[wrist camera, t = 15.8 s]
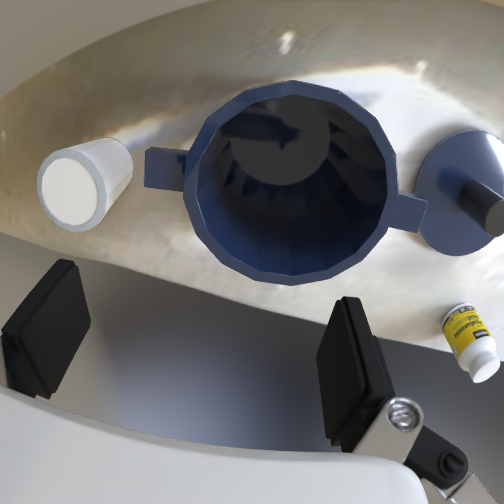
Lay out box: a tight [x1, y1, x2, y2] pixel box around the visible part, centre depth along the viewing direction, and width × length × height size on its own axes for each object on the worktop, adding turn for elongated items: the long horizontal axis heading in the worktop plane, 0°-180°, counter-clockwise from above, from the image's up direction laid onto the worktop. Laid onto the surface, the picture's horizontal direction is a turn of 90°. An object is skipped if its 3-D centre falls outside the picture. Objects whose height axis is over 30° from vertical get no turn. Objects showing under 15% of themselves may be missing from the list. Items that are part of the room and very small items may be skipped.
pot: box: [144, 80, 428, 286], centre depth 22 cm, size 13×18×10 cm
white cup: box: [37, 137, 134, 233], centre depth 24 cm, size 7×7×7 cm
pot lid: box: [414, 129, 504, 256], centre depth 24 cm, size 14×14×6 cm
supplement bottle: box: [442, 303, 500, 383], centre depth 30 cm, size 5×5×10 cm
